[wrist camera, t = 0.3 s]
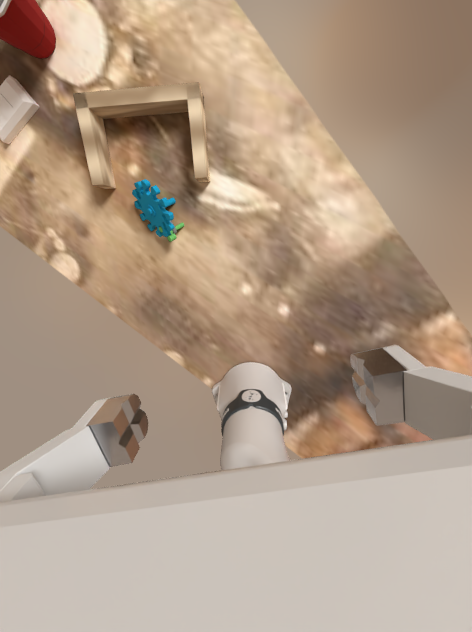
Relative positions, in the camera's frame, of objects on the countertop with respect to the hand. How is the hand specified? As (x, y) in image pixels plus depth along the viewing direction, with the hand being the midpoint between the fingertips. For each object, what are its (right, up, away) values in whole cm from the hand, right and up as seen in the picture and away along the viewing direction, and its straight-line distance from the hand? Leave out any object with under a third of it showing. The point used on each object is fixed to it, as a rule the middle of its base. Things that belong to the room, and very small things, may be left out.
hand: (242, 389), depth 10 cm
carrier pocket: (-15, +33, +37) cm, 52 cm away
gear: (-15, +23, +41) cm, 49 cm away
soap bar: (-40, +39, +36) cm, 66 cm away
